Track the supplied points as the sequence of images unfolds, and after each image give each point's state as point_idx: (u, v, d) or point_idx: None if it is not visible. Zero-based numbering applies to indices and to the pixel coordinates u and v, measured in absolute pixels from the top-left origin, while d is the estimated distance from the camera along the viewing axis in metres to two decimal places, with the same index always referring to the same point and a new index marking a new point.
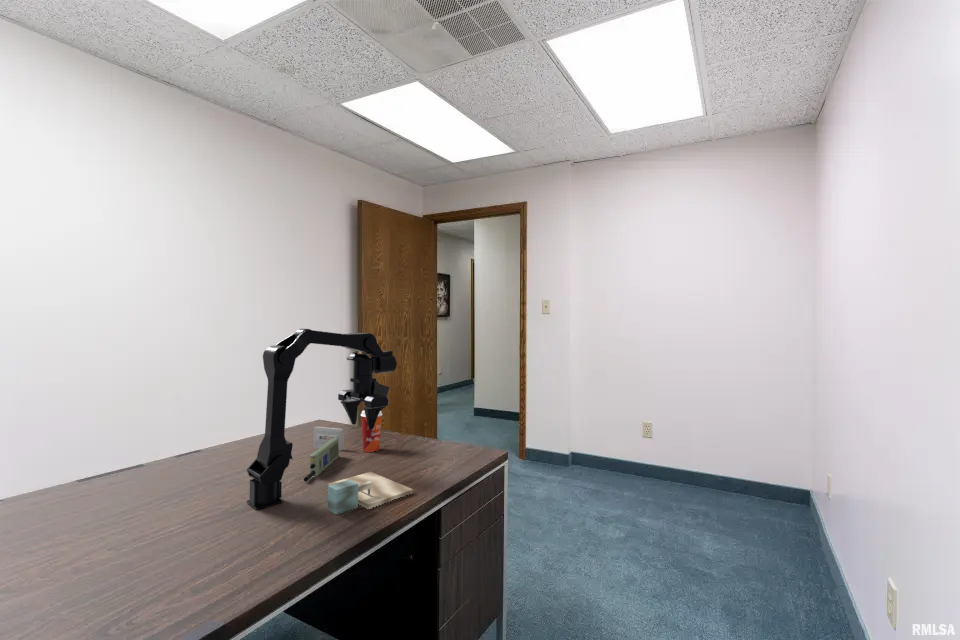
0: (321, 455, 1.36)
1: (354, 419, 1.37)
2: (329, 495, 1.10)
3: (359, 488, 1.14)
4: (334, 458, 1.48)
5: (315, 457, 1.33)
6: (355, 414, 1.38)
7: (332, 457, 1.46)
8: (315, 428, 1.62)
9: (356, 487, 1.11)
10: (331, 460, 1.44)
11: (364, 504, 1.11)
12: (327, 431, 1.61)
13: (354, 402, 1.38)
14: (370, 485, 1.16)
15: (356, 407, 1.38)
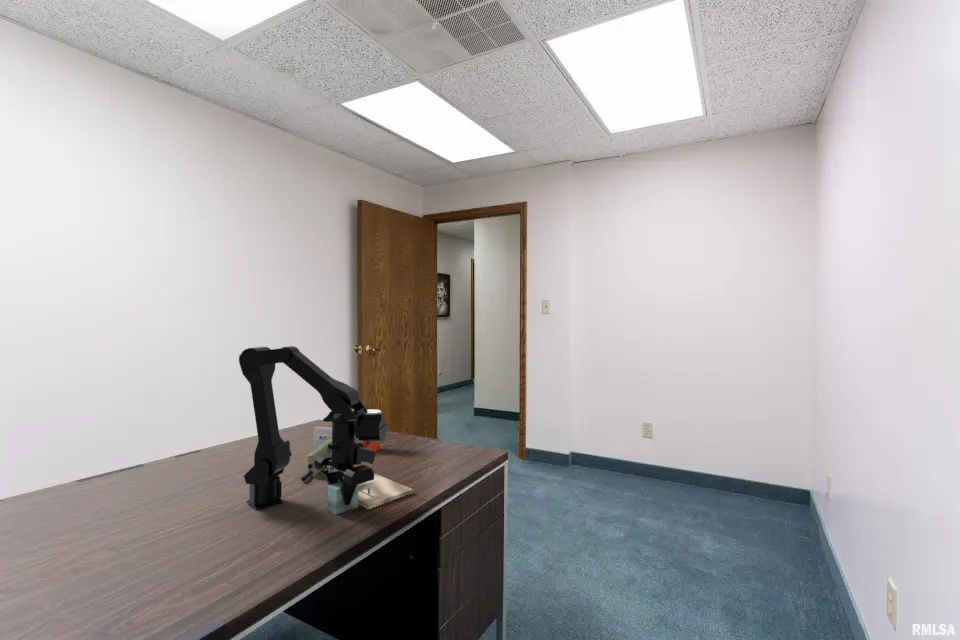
0: (319, 455, 1.36)
1: None
2: (329, 495, 1.10)
3: (359, 488, 1.14)
4: None
5: (313, 457, 1.33)
6: None
7: None
8: (315, 428, 1.62)
9: (356, 486, 1.11)
10: None
11: (364, 504, 1.11)
12: (327, 431, 1.61)
13: (338, 472, 1.13)
14: (370, 485, 1.16)
15: (340, 479, 1.13)
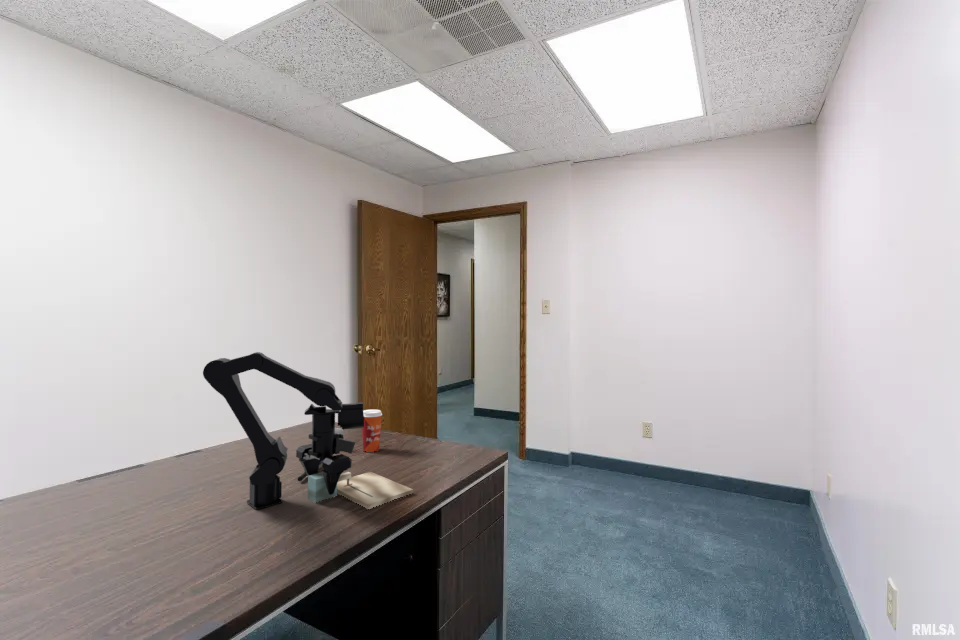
0: None
1: None
2: (309, 484, 1.16)
3: None
4: None
5: None
6: (316, 473, 1.21)
7: None
8: None
9: None
10: None
11: (364, 504, 1.11)
12: None
13: (315, 460, 1.21)
14: (349, 475, 1.23)
15: (317, 465, 1.22)
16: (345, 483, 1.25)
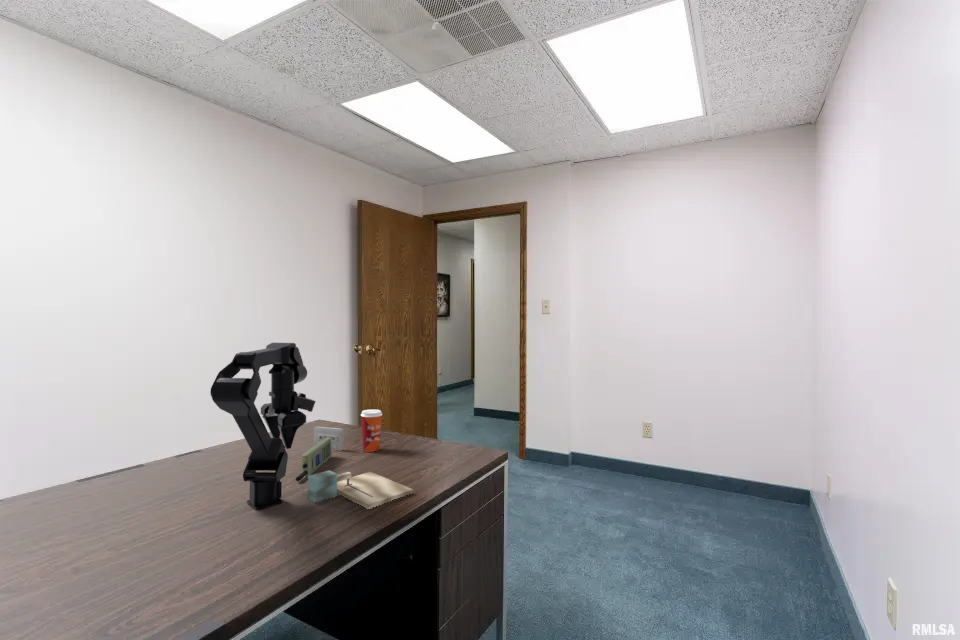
0: (313, 455, 1.36)
1: (277, 435, 1.27)
2: (309, 484, 1.16)
3: (338, 478, 1.20)
4: (326, 458, 1.48)
5: (307, 457, 1.33)
6: (278, 430, 1.27)
7: (324, 457, 1.46)
8: (315, 428, 1.62)
9: (335, 477, 1.18)
10: (323, 460, 1.44)
11: (364, 504, 1.11)
12: (327, 430, 1.61)
13: (277, 417, 1.27)
14: (349, 475, 1.23)
15: None
16: (345, 483, 1.25)
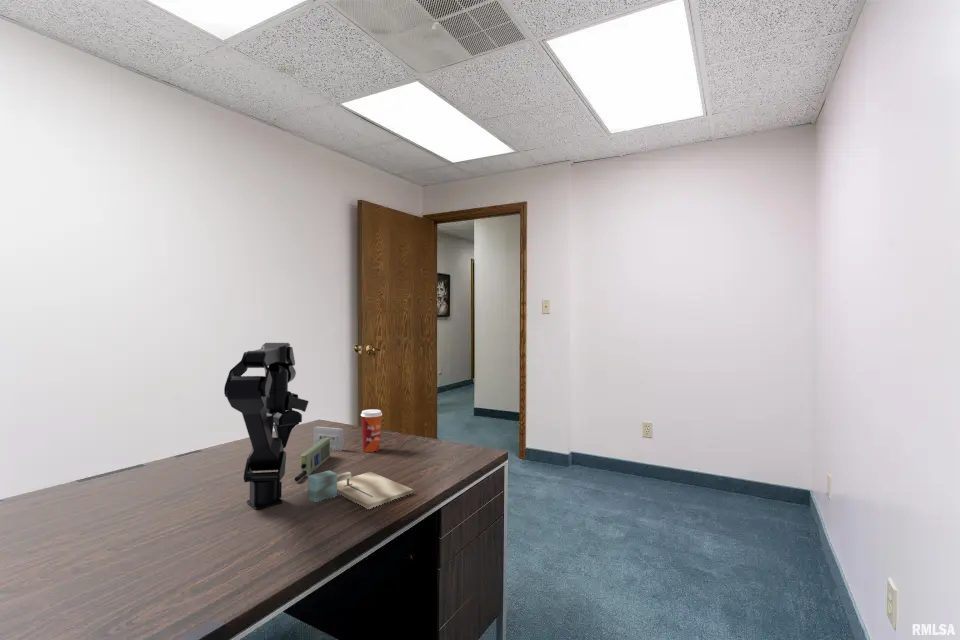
0: (312, 455, 1.36)
1: None
2: (309, 484, 1.16)
3: (338, 478, 1.20)
4: (325, 458, 1.48)
5: (306, 457, 1.33)
6: (270, 430, 1.27)
7: (323, 457, 1.46)
8: (315, 428, 1.62)
9: (335, 477, 1.18)
10: (322, 460, 1.44)
11: (364, 504, 1.11)
12: (327, 431, 1.61)
13: (269, 417, 1.27)
14: (349, 475, 1.23)
15: (271, 423, 1.28)
16: (345, 483, 1.25)
